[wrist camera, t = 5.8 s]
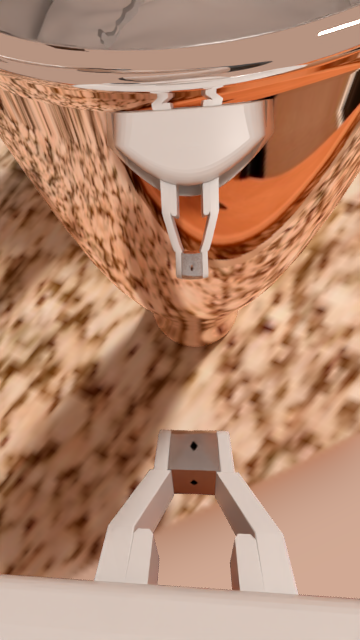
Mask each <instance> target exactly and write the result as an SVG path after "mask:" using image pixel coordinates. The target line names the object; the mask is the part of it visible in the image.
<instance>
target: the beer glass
mask: <svg viewBox="0 0 360 640" xmlns="http://www.w3.org/2000/svg"><path fill="white" fill-rule="evenodd" d="M0 138H1V139H2V141H3V142H4V144H5V145H6V146H7V148H8V149H9V151H10V152H11V154H12V155H13V157H14V158H15V159H16V161H17V162H18V164H19V165H20V167H21V168H22V169H23V171H24V172H25V174H26V175H27V177H28V178H29V179H30V181H31V182H32V184H33V185H34V186H35V188H36V189H37V191H38V192H39V193H40V195H41V196H42V197H43V199H44V200H45V202H46V203H47V204H48V206H49V207H50V209H51V210H52V211H53V213H54V214H55V215H56V217H57V218H58V220H59V221H60V222H61V224H62V225H63V226H64V227H65V229H66V230H67V231H68V232H69V234H70V235H71V236H72V237H73V239H74V240H75V241H76V242H77V244H78V245H79V246H80V247H81V249H82V250H83V251H84V252H85V254H86V255H87V256H88V257H89V259H90V260H91V261H92V262H93V263H94V264H95V265H96V266H97V267H98V268H99V269H100V270H101V271H102V272H103V273H104V275H105V276H106V277H107V278H108V279H109V280H110V281H111V282H112V283H113V284H114V285H115V286H116V287H117V288H118V289H120V290H121V291H122V292H123V293H124V294H126V295H127V296H129V297H130V298H131V299H133V300H134V301H135V302H137V303H138V304H140V305H141V306H142V307H144V308H145V309H147V310H149V311H151V312H153V314H154V318H155V321H156V323H157V325H158V327H159V328H160V330H161V331H162V332H163V333H164V334H165V335H166V336H167V337H168V338H169V339H171V340H172V341H174V342H176V343H178V344H181V345H185V346H190V347H201V346H206V345H209V344H212V343H214V342H216V341H218V340H220V339H221V338H222V337H224V336H225V335H226V334H227V333H228V332H229V331H230V329H231V328H232V326H233V324H234V322H235V320H236V317H237V313H238V310H240V309H241V308H243V307H245V306H246V305H248V304H249V303H250V302H252V301H253V300H254V299H255V298H257V297H258V296H259V295H261V294H262V293H263V292H264V291H266V290H267V289H268V288H269V287H270V286H271V285H273V284H274V283H275V282H276V281H277V280H278V278H279V277H280V276H281V275H282V274H283V273H284V272H285V271H286V270H287V268H288V267H289V266H290V265H291V264H292V263H293V262H294V261H295V260H296V258H297V257H298V256H299V255H300V254H301V253H302V251H303V250H304V249H305V248H306V246H307V245H308V244H309V242H310V241H311V240H312V238H313V237H314V236H315V234H316V233H317V232H318V230H319V229H320V228H321V226H322V225H323V224H324V222H325V221H326V220H327V218H328V217H329V215H330V214H331V213H332V211H333V210H334V209H335V207H336V206H337V204H338V203H339V201H340V200H341V198H342V197H343V195H344V194H345V192H346V191H347V189H348V188H349V187H350V185H351V184H352V182H353V181H354V179H355V178H356V176H357V175H358V173H359V172H360V0H0Z"/></svg>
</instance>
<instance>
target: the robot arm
mask: <svg viewBox="0 0 360 640" xmlns="http://www.w3.org/2000/svg"><path fill="white" fill-rule="evenodd" d="M174 494H203V495H215V498H216V499H217V501H218V503H219V505H220V507H221V509H222V511H223V512H224V515H225V516H226V518H227V520H228V522H229V524H230V526H231V528H232V529H233V531H234V533H235V535H236V537H235V540H234V545H233V550H232V556H231V560H230V568H231V581H232V590H225V589H209V588H195V587H180V586H166V585H157V581H158V569H159V556H158V552H157V548H156V544H155V540H154V536H153V532H154V531H155V529H156V527H157V525H158V523H159V521H160V520H161V518H162V516H163V514H164V512H165V511H166V509H167V507H168V505H169V503H170V502H171V500H172V498H173V496H174ZM0 640H360V599H355V598H342V597H326V596H312V595H298V591H297V587H296V583H295V579H294V575H293V571H292V568H291V563H290V559H289V555H288V552H287V548H286V544H285V539H284V535H283V534H282V532H281V531H280V530H279V528H278V527H277V525H276V524H275V523H274V521H273V520H272V518H271V517H270V516H269V514H268V513H267V511H266V510H265V509H264V507H263V506H262V505H261V503H260V502H259V500H258V499H257V497H256V496H255V495H254V493H253V492H252V491H251V489H250V488H249V486H248V485H247V484H246V482H245V481H244V479H243V478H242V477H241V475H240V474H239V472H235V470H234V463H233V456H232V449H231V442H230V434H229V432H228V431H203V430H194V431H187V430H160V431H159V435H158V442H157V449H156V456H155V463H154V469H150V470H149V471H148V473H147V474H146V475H145V477H144V478H143V480H142V481H141V482H140V484H139V485H138V486H137V488H136V489H135V490H134V492H133V493H132V494H131V496H130V497H129V498H128V500H127V501H126V502H125V504H124V505H123V506H122V508H121V509H120V510H119V512H118V513H117V514H116V516H115V517H114V518H113V520H112V521H111V522H110V524H109V525H108V528H107V532H106V536H105V540H104V544H103V548H102V552H101V555H100V559H99V563H98V567H97V571H96V575H95V579H94V581H92V580H78V579H64V578H49V577H34V576H20V575H5V574H0Z"/></svg>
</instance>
